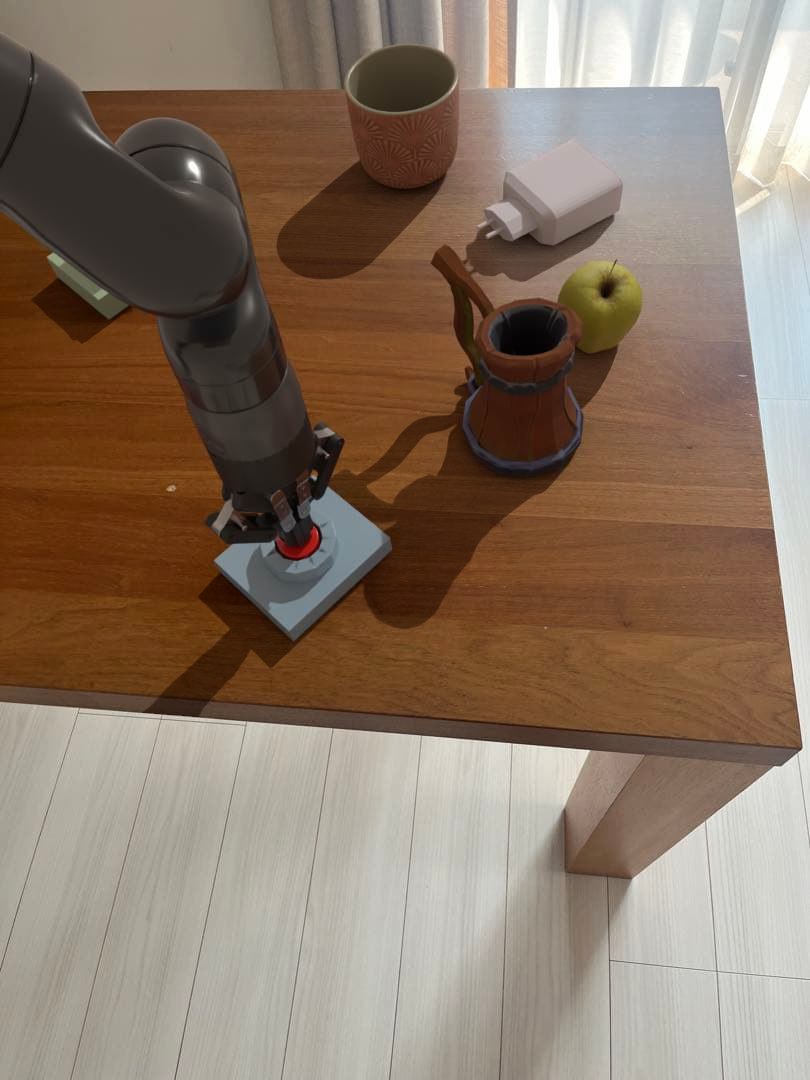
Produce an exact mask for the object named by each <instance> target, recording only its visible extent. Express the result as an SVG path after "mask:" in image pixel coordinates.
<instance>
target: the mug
mask: <svg viewBox="0 0 810 1080" xmlns="http://www.w3.org/2000/svg"><path fill="white" fill-rule="evenodd" d="M430 264H431V265H432V266H433V267H434V268H435V269H436V270H437V271H438V272H439V273H440V274H441V275H442V277H443V278H444V279H445V280H446V282H447V283H448V284H449V287H450V291H451V294H452V298H453V307H454V311H453V323H452V326H453V330H454V334H455V337H456V340H457V342H458V343H459V346H460V347H461V349H462V350H463V352H464V353H465V355H466V357H467V358H468V360H469V361H470V364H471V366H470V365H467V366H465V367H464V373H465V377H466V380H467V381H468V382H467V389H468V391H469V393H470V394H471V395H470V397H468V398H467V399H466V400H465V403H464V409H463V416H462V417H463V418H462V424H461V425H462V428H461V429H462V434H463V436H464V438H465V440H466V443H467V444H468V446H469V448H470V450H471V452H472V454H473V456H474V457H475V458H476V460H478V461H479V462H481V463H482V464H483V465H485V466H486V467H487V468H489V469H491V470H492V471H494V472H495V473H496V474H497V475H499V476H509V477H519V478H520V477H521V478H532V477H533V478H534V477H536V476H540V475H544V474H547V473H550V472H554V471H557V470H561V469H563V467H564V465H565V464H566V463H567V462H568V461H569V459H571V457H572V456H573V454H574V453H575V452H576V451H577V449H578V448H579V447H580V446H581V444H582V438H583V437H582V436H583V426H584V415H585V414H584V412H583V411H582V409H581V407H580V405H579V403H578V401H577V399H576V397H575V395H574V393H573V392H572V389H571V387H570V386H568V373H570V371H571V370H572V369H573V365H574V359H575V358H574V357H575V352H576V351H575V350H576V347H577V344H578V342H579V341H580V339H581V337H582V329H583V323H582V321H581V320H580V318H579V317H578V315H577V314H576V312H575V311H573V310H571V309H569V308H568V305H564V304H560V303H557V301H553V300H549V299H545V298H542V297H535V298H533V297H532V298H523V299H517V300H516V299H515V300H514V301H511V302H508V303H505V304H502V305H500V306H498V307H497V308H495V307H494V305H493V304H492V302H491V300H490V299H489V298H488V296H487V295H486V293H485V291H484V290H483V288H481V286H480V285H479V284H478V282H476V281H475V279H474V277H473V276H472V275H471V273H470V272H469V270H468V268H467V267H466V265H465V264H464V262H463V260H462V259H461V257H460V256H459V255H458V254H457V253H456V250H454V249H453V248H452V247H451V246H449V245H447V244H443V245H442V246H440V247H439V248H438V249H436V250H435V252H434V254H433V256H432V259H431V261H430ZM471 301H472V302H471ZM472 303H473V304H474V305H475V306H476V307H477V309H478V311H479V313H480V314H481V318H482V320H481V321H480V322H479V324H478V328H477V330H476V334H475V333H474V330H475V319H474V310H473V305H472ZM474 334H475V335H474Z"/></svg>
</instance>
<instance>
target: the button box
mask: <svg viewBox="0 0 810 1080" xmlns="http://www.w3.org/2000/svg"><path fill="white" fill-rule="evenodd" d="M310 477H311V478H313V479H314V480H315V481H316V479H317V476H315V474H311V475H310ZM310 507H311V511H310V516H311V519H312V522H313V526H314V527H315V528H316V529H317V532H318V535H319V537H320V540H321V544H320V547H319V549H318V550H317V551H316V552H315V553H314V554H313V555H312V556H311V557H310V558H306V559H303V560H299V561H293V560H288V559H284V558H283V557H282V555H281V553H280V550H279V548H278V545H277V537H276V538H275V539H274V540H273V541H272V542H270V543H247V544H230V546H229V547H228V548H226V549H225V550H224V551H223V552H222V553H220V554H219V555H217V557H216V558H215V559H213V562H214V564H215V566H216V567H217V570H218V571H219V572H220V573H221V574H222V576H224V577H225V579H227V580H228V581H229V582H230V583H232V585H233V586H234V587H235V588H236V589H237V590H239V591H240V592H241V594H243V595H244V596H245V597H246V598H247V599H248V600H249V601H250V602H251V603H252V604H253V605H254V606H255V607H256V608H257V609H259V610H260V612H262V614H264V615H265V616H266V617H267V618H268V619H269V620H270V621H271V622H272V623H274V624H275V626H277V627H278V628H279V629H280V630H281V631H282V632H283V633H284V634H285V635H286V636H287V637H288V638H289V639H290V640H291V641H292V642H295V641H296V640H297V639H298V638H299V637H300V636H301V635H303V634H304V633H305V631H307V630H309V628H310V627H311V626H312V625H313V624H315V623H316V622H317V620H318V619H320V617H322V616H323V615H324V614H325V613H326V612H328V610H330V609H331V608H332V607H333V606H334V605H335V604H336V602H338V601H339V600H340V599H341V598H342V597H343V596H344V595H345V594H347V593H348V592H349V591H350V590H351V589H352V588H353V587H354V586H355V585H356V584H357V583H358V582H360V580H362V579H363V578H364V577H365V576H366V575H367V574H368V573H370V572H371V571H372V570H373V568H375V566H376V565H378V564H379V563H380V562H381V561H382V560H384V558H385V557H387V555H388V554H389V553H391V552H392V551H393V546H392V542H391V541H392V540H391V537H390V536H389V535H387V534H386V533H385V532H384V531H382V530H381V529H380V528H379V527H377V526H376V524H374V523H373V522H371V520H369V519H368V518H367V517H365V516H364V515H363V514H362V513H361V512H359V511H358V510H357V509H356V508H355V507H353V506H352V505H351V504H350V503H348V502H347V501H346V500H345V499H343V498H342V497H341V496H340V495H339V494H338V493H336V492H335V491H334V490H333V489H332V488H331V487H329V485H328V486H327V489H326V492H325V494H324V496H323V497H322V498H321V499H319V500H315V499H314V500H313V501H312V502H311V504H310Z"/></svg>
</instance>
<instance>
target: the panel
mask: <svg viewBox="0 0 810 1080" xmlns="http://www.w3.org/2000/svg"><path fill="white" fill-rule="evenodd" d="M46 260H47V261H48V263H49V265H50V266H51V268H52V270H53V272H54V274H55V275H56V277H57V278H58V279H59V280H60V281H62V283H64V284H65V285H66V286H68V287H69V288H70V289H71V290H72V291H73V292H75V293H76V294H77V295H78V296H79V297H81V299H83V300H84V301H86V303H88V304H89V305H90V306H92V307H93V308H94V309H95V310H96V311H97V312H99V313H100V314H101V315H102V316H103V317H105V318H106V319H107V320H111V319H112V318H114V317H115V316H117V315H118V314H119V313H120V312H122V311H123V310H125V309H127V308H128V307H130V305H128V304H126V303H124V302H122V301H121V300H119V299H117V298H115V297H114V296H112V295H111V294H109V293H108V292H106V291H105V290H103V289H102V288H100V287H99V286H98V285H96V284H95V283H93V282H92V281H91V280H89V279H88V278H87V277H85V276H84V275H83V274H81V273H80V272H79V271H77V270H76V269H75V268H73V267H72V266H71V265H69V264H68V263H67V262H65V261H64V260H63V259H61V258H60V257H59V256H58V255H56V254H55V253H53V252H52V253H50V254H49V255H47V256H46Z"/></svg>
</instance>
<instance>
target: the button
mask: <svg viewBox="0 0 810 1080" xmlns="http://www.w3.org/2000/svg"><path fill="white" fill-rule="evenodd" d="M310 532H311V535H312V538H311V539H310V540H308V541H307V542H306V543H305V544H304V545H303V546H302V547H301V548H298V547H297V546H293V547H292V548H291V547H289V546H288V545H287V544H285V543H284V542H283V541H282V540H281V539H280V538H279V537H278V536H277V545H278V548H279V550H280V553H281V555H282V557H283V558H284V559H288V560H293V561H299V560H303V559H306V558H310V557H311V556H312V555H313V554H314V553H315V552H316V551H317V550H318V549H319V547H320V544H321V540H320V537H319V535H318V532H317V529H316V528H315V527H314V526H313V530H311V531H310Z"/></svg>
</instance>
